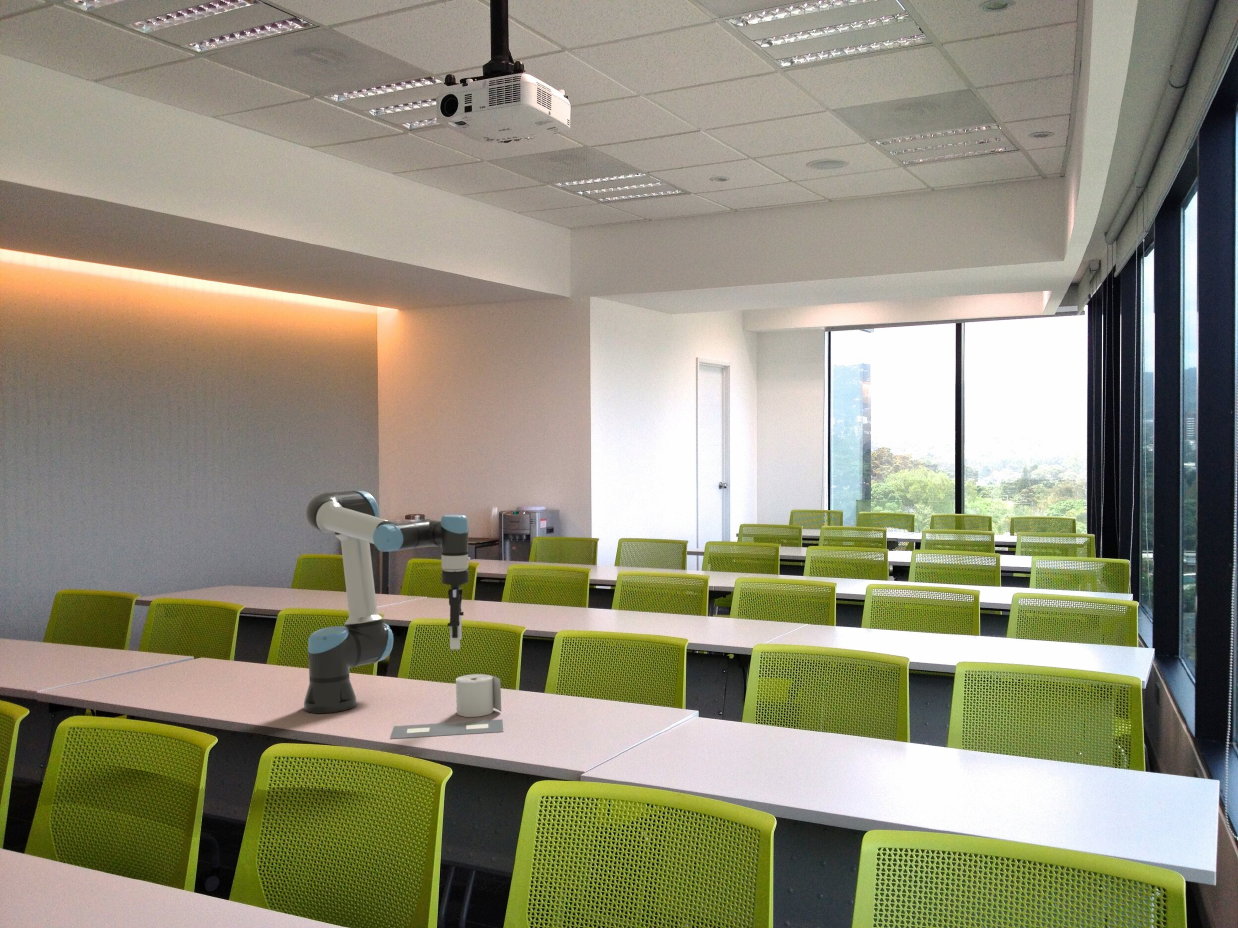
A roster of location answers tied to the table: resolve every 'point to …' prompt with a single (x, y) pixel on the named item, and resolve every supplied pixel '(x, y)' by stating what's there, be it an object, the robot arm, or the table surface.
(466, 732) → the label mat
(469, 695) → the toilet tissue
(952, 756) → the table surface
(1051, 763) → the table surface
